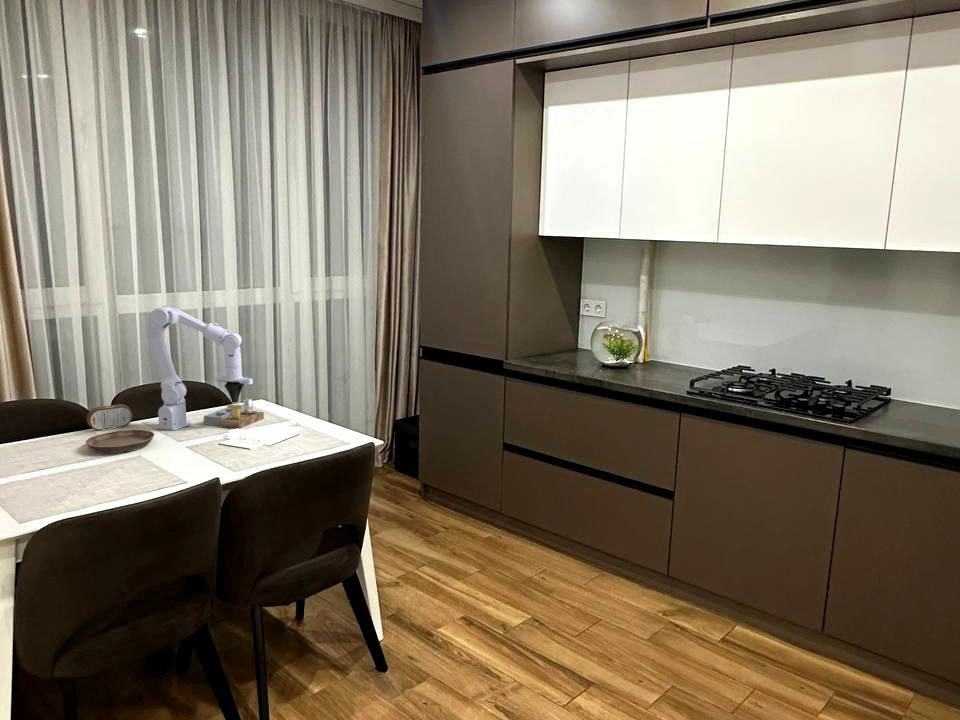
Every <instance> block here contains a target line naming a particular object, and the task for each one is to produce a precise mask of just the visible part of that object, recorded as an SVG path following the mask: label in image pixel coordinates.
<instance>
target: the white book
mask: <svg viewBox="0 0 960 720" xmlns="http://www.w3.org/2000/svg"><path fill="white" fill-rule="evenodd" d="M302 430H304V429H303V427H295V426H289V425H288V426H287V425H283V424H276V423H274V424H270V425H267V426H265V427H257V426H254V427H250V428H248V429H245V430H243V428H240V429H239V428H238V429H235V428H232V429H230V430H229V431H228V432H229V433H228V435H227V436H224V437H223V439H224V440H225V441H222V442H219V443H218V445H227V446H233V447H239V448H245V449H249V450H253V449H255V448H258V447H261V446H268V447H271V446H272V445H275V444H277V443H280V442H281V441H284V440H287V439H289V438H292V437H294V436H295V437H296V436H297V435H301V433H298V432H301V431H302Z"/></svg>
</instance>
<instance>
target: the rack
mask: <svg viewBox="0 0 960 720" xmlns="http://www.w3.org/2000/svg"><path fill="white" fill-rule="evenodd" d="M234 405H242V406H243V409H240V412H243V411H244V404H240V403H239V404H237V403H234ZM230 416H231V408H227V407H225V408H222V409H219V410H216V411H214V412H210V413H208V414H206V415H203V425H211V426H220V420H222V419H225V418H227V417H230Z"/></svg>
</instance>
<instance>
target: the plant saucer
mask: <svg viewBox="0 0 960 720" xmlns="http://www.w3.org/2000/svg"><path fill="white" fill-rule="evenodd" d="M154 437H155V433H154V432H152V431H149V430H146V429H126V430H123V429H122V430H116V431H115V430H114V431H110V432H105V433H101V434H98V435H94V436H91V437H89V438H88V439H86V440H85V444H86V446H87V447H88V448H89V449H90V450H92V451H94V452H96V453H99V454H122V453H129V452H135V451H138V450H140V449H143V448H145V447H146V446H148V445H149V444H150V443H151V442H152V440H154Z"/></svg>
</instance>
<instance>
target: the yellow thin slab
mask: <svg viewBox="0 0 960 720" xmlns="http://www.w3.org/2000/svg"><path fill="white" fill-rule="evenodd" d="M242 405H243V404H240V405H235V404H227V407H226V408H231V417H232V419H240V409H243V406H242Z"/></svg>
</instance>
